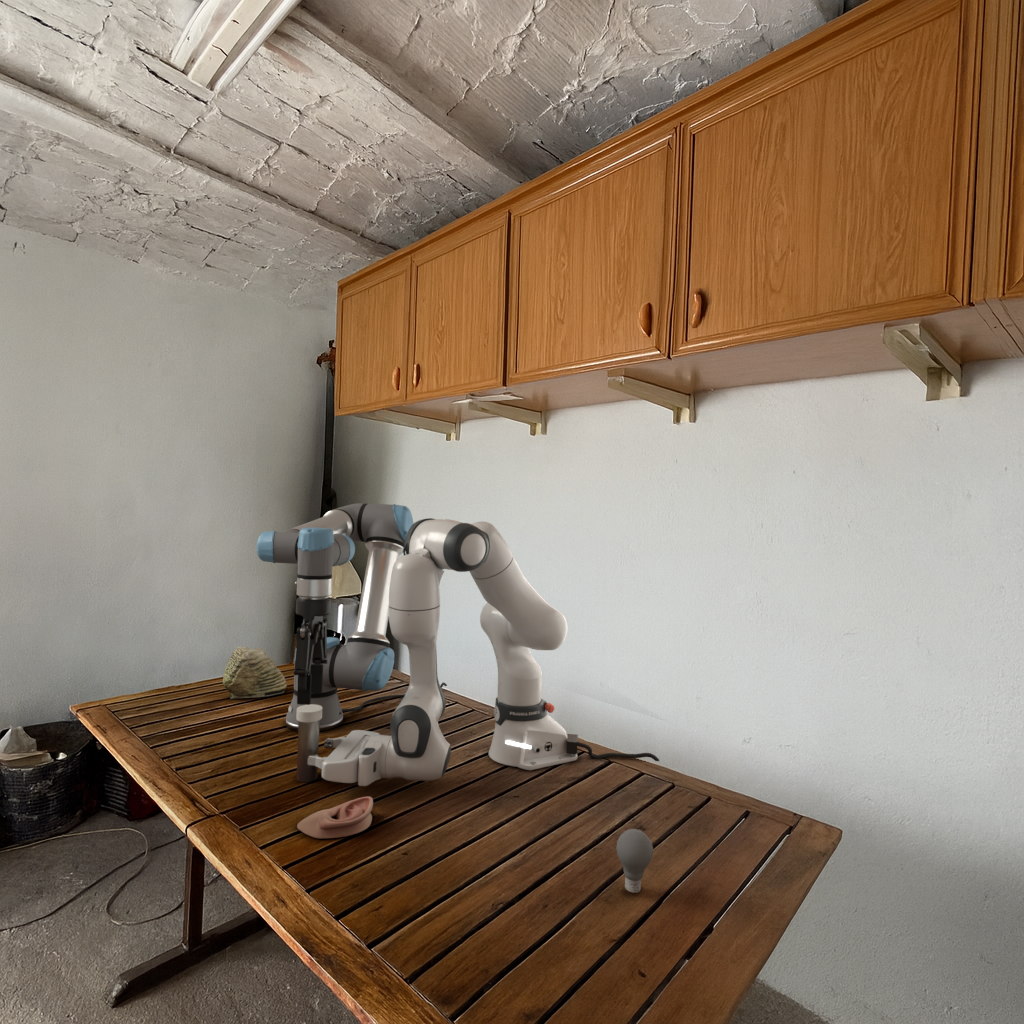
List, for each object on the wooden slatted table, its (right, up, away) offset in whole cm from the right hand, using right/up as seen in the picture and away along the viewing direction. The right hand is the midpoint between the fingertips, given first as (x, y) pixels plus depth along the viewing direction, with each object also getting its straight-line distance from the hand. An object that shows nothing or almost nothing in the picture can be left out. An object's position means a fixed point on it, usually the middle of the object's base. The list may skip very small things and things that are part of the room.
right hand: (317, 751), depth 142 cm
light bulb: (+64, -10, -36) cm, 74 cm away
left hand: (-2, +12, 0) cm, 12 cm away
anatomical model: (+9, -7, -19) cm, 23 cm away
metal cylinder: (-2, -6, 0) cm, 7 cm away
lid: (-2, +9, 0) cm, 9 cm away
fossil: (-37, -4, +56) cm, 67 cm away
